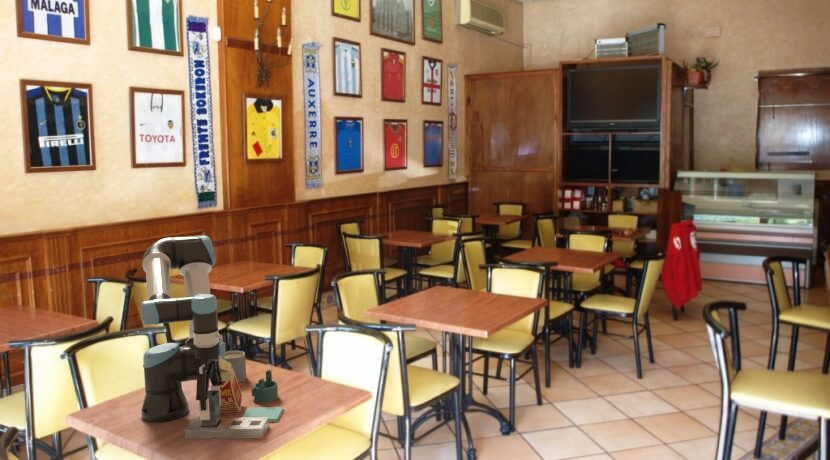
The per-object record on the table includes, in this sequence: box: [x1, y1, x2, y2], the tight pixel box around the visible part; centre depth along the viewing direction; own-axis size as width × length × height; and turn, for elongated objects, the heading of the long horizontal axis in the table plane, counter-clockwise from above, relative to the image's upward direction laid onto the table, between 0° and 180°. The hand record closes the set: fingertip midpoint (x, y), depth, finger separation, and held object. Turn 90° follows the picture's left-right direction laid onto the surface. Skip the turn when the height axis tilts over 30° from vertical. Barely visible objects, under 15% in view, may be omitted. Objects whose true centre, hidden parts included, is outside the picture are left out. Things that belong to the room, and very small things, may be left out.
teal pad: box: [241, 406, 285, 423], centre depth 232 cm, size 12×10×1 cm
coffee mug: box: [225, 350, 247, 384], centre depth 270 cm, size 13×10×10 cm
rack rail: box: [183, 417, 270, 440], centre depth 219 cm, size 24×9×3 cm, turn 89°
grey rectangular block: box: [202, 390, 221, 427], centre depth 219 cm, size 4×4×13 cm
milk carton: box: [211, 355, 243, 414], centre depth 235 cm, size 9×9×20 cm
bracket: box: [250, 369, 279, 404], centre depth 247 cm, size 9×9×9 cm
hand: (210, 412), depth 219 cm, fingers open, 11 cm apart
